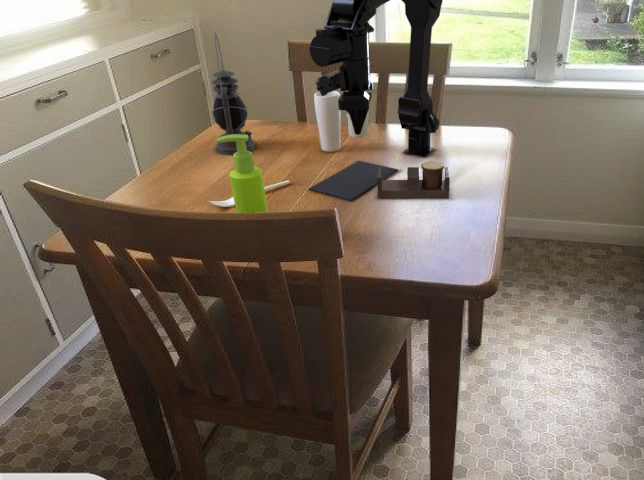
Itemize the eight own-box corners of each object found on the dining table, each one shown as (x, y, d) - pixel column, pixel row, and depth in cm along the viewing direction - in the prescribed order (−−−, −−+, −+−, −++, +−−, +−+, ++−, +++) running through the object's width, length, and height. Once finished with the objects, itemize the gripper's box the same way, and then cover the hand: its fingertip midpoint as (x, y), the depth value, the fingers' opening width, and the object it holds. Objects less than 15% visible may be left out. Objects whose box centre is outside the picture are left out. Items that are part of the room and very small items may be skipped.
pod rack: (379, 187, 123) (378, 167, 120) (447, 187, 122) (448, 167, 120) (377, 198, 118) (377, 177, 115) (448, 198, 117) (449, 177, 114)
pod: (427, 178, 122) (428, 159, 119) (447, 183, 119) (448, 163, 117) (416, 186, 118) (417, 166, 116) (436, 191, 116) (437, 170, 113)
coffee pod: (355, 129, 123) (354, 109, 120) (374, 132, 121) (373, 112, 118) (343, 135, 119) (341, 114, 117) (361, 139, 117) (360, 118, 114)
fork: (293, 185, 125) (293, 178, 124) (214, 212, 114) (213, 204, 113) (286, 181, 127) (285, 174, 126) (208, 207, 116) (206, 199, 115)
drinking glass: (339, 154, 142) (335, 97, 134) (315, 153, 143) (310, 96, 135) (346, 145, 148) (342, 90, 140) (322, 144, 149) (318, 89, 141)
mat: (358, 162, 137) (358, 160, 137) (398, 170, 131) (398, 169, 131) (308, 190, 123) (308, 188, 122) (351, 201, 117) (351, 199, 117)
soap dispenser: (237, 228, 107) (219, 131, 97) (272, 226, 108) (258, 129, 97) (233, 242, 102) (213, 142, 92) (269, 240, 103) (254, 140, 92)
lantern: (254, 154, 143) (235, 35, 128) (213, 157, 142) (190, 37, 127) (256, 139, 154) (239, 27, 138) (218, 141, 153) (197, 29, 137)
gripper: (322, 50, 120) (327, 118, 128) (309, 68, 104) (317, 145, 112) (371, 49, 119) (374, 118, 127) (367, 67, 103) (370, 144, 111)
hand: (358, 130), depth 119 cm, fingers closed on coffee pod, 4 cm apart
